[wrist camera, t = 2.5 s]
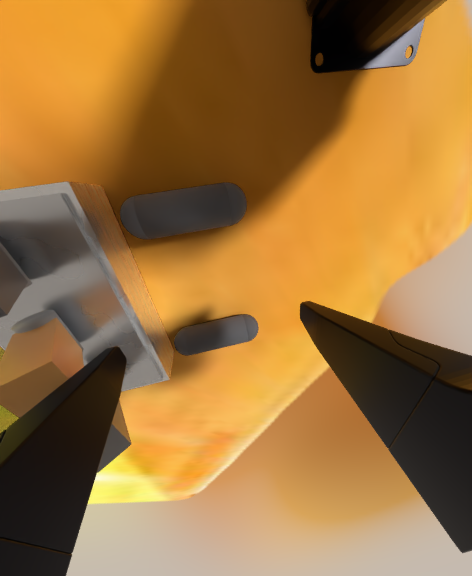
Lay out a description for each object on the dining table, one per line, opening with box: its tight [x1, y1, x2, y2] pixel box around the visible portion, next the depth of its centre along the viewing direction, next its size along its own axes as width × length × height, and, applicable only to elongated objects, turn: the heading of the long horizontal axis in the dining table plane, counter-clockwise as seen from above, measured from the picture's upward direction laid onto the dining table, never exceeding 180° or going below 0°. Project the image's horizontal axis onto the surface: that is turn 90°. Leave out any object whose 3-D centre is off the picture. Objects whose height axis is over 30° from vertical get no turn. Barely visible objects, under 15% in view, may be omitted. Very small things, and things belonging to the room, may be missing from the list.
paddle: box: [97, 401, 131, 472], centre depth 10 cm, size 2×3×5 cm
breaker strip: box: [0, 182, 174, 392], centre depth 12 cm, size 8×14×3 cm, turn 8°
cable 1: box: [120, 183, 247, 239], centre depth 11 cm, size 7×2×2 cm, turn 98°
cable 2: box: [174, 314, 258, 355], centre depth 15 cm, size 7×2×2 cm, turn 98°
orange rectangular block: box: [0, 310, 84, 418], centre depth 8 cm, size 2×3×5 cm
